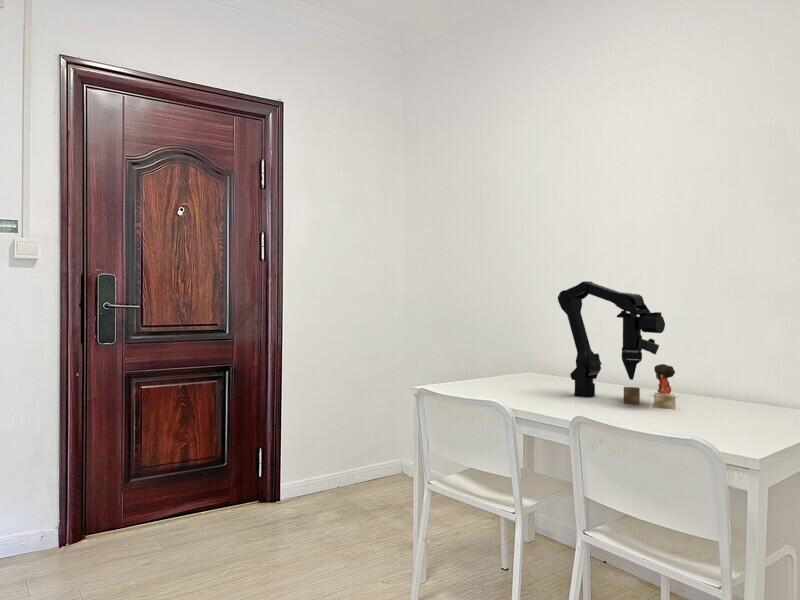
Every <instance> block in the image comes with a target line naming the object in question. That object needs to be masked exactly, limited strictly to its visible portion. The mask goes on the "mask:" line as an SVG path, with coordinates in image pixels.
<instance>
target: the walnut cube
mask: <svg viewBox="0 0 800 600" xmlns="http://www.w3.org/2000/svg"><path fill="white" fill-rule="evenodd" d="M640 388H641V387H639V386H638V387H636V386H635V387H634V386H623V404H624V405H636V406H638V405H640V404H641V399H640V398H641V397H640V396H641V395H640V394H641V393H640V391H641V390H640Z"/></svg>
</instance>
